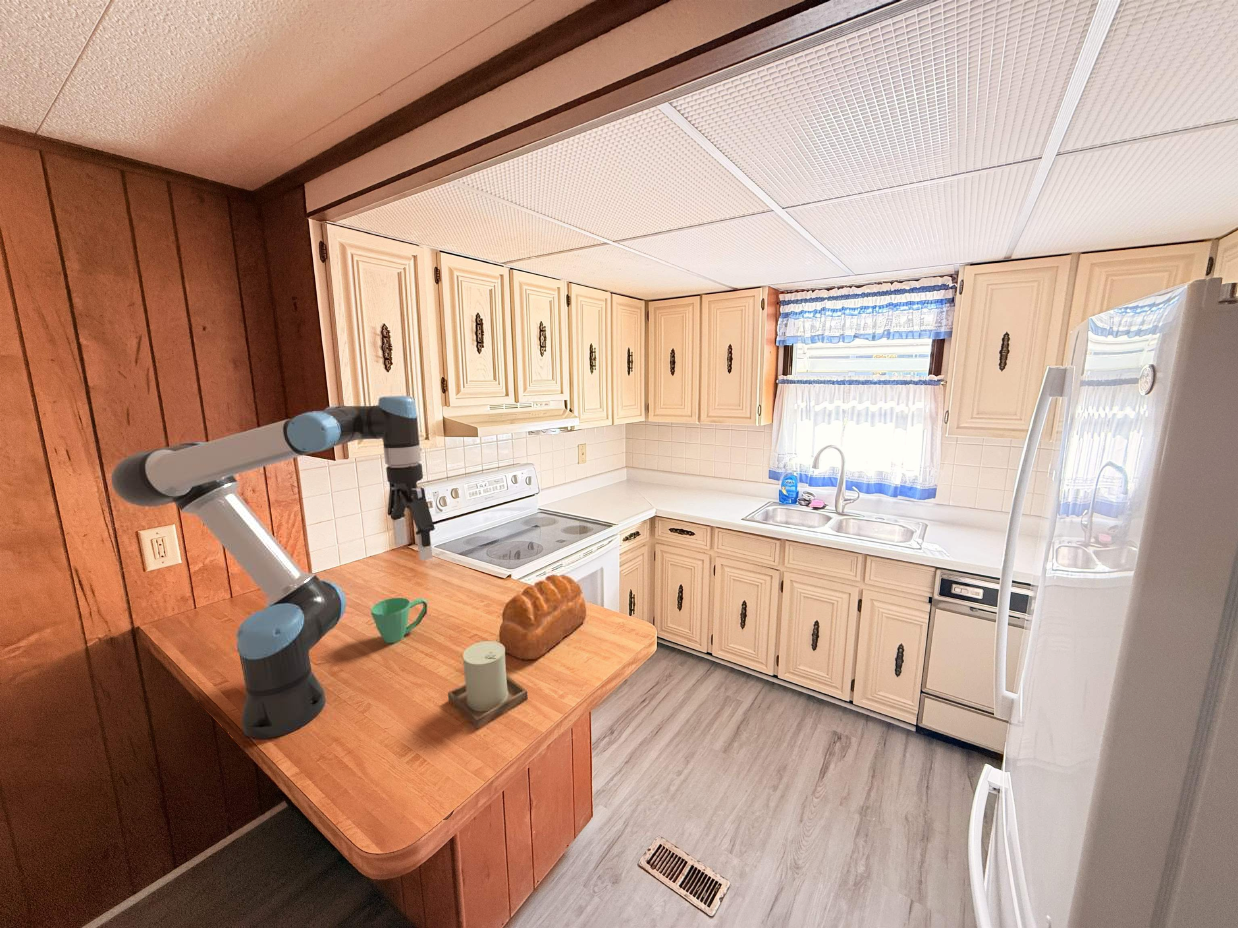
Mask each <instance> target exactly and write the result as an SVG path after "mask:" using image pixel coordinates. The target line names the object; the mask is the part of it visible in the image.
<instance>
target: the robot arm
mask: <svg viewBox="0 0 1238 928" xmlns="http://www.w3.org/2000/svg"><path fill="white" fill-rule="evenodd" d="M416 407H417V406H416V402H415V399H414V398H413V397H412V396H410V395H396V396H395V395H391V396H389V395H387V396H386V395H385V396H380V397H378V404H376V405H336V406H328V407H326V408H325V409H324V410H317V411H316V410H313V411H307V412H303V413H301V414H299V415H298V414H297V416H294V417H292V418H288V419H284V420H280V421H278V422H274V423H270V424H267V425H263V426H260V427H256V428H253V429H249V430H246V431H241V432H239V433H234V434H231V435H228V436H224V437H221V438H217V439H214V440H210V441H206V442H205V441H200V442H199V441H198V442H183V443H179V444H177V445H171V446H165V447H160V448H156V449H150V450H149V449H148V450H144V451H139V452H135V453H133V454H131V455H128V456H126V457H125V458H123V459H122V460H120V461H119V462H118V463H117V464H116V465H115V467H114V469H113V470H112V473H111V476H110V477H111V480H110V481H111V483H110V484H111V486H112V489H113V490H114V492H115V493H116V494H117V495H118V497H119V498H121V499H122V500H124V501H125V502H127V503H130V504H131V505H135V506H139V507H147V508H148V507H153V508H154V507H160V506H164V505H168V504H171V503H174V504H175V506H176V507H178V509H179V510H180V511H181V512H182V513H184V514H191V515H195V516H196V517H197V518H199V520H200V521H201V522H202V523H203V524H204V526H206V528H207V530H209V531H210V533H212V534H213V536H214V537H215V538H216V539H217V541H218V542H219V543H220V544H221V546H223V548H224V549H225V550H226V551H227V552H228V553H229V554H230V555H231V556H232V557H233V559H234V560H235V562H237V564H238V565H239V566H240V567H241V568H242V569H243V570H244V572H245V573H246V574H247V575H248V576H249V577H250V579H252V581H253V582H254V583H255V584H256V586H257V587H258V588H259V589H260V590H261V591H262V592H263V594H264V595H266V598H267V599H266V604H265V608H264V609H262V610H258V611H255V612H254V613H252V614H250V615H249V616H248V617H247V618H244V619H245V620H244V621H242V622H241V624H240V625H239V627H238V629H237V632H236V640H237V643H236V648H237V649H236V650H237V652H238V655H239V659H240V664H241V671H242V675H243V679H244V685H245V689H246V696H245V701H244V704H243V705H244V706H243V710H242V714H241V719H240V722H241V727H242V732H243V734H244V735H245V736H246V737H248V738H251V739H256V740H264V739H266V740H267V739H272V738H276V737H279V736H284V735H286V734H289V733H292V732H294V731H296V730H298V729H300V728H302V727H303V726H305V725H307V724H308V723H310V722H312V721H313V719H315V718H316V717H317V716H318V715H319V714H320V713H321V712H322V711H323V709H324V707H325V705H326V694H325V689H324V688H323V686H322V685H321V683H320V682H319V680H318V678H317V677H316V676H315V674H314V673H313V671H312V666H311V665H312V664H311V658H310V650H312V649H313V647H314V646H315V645H317V644H318V643H319V641H321V640H322V639H323V638H324V637H325V636H326V635H327V634H328V633H329V632H330V631H331V630H333V629H334V628H335V627H336V626H337V624H338V623H339V622H340V620H342V618H343V616H344V614H345V612H346V607H347V599H346V595H345V593H344V591H343V590H342V588H341V587H340V586H339V585H338V584H336V583H335V582H333V581H328V580H324V579H322V580H320V578H319V577H318V576H317V575H316V574H315V573H311V572H305V571H303V569H301V567H300V566H299V565H298V563H296V562H295V560H294V559H293V558H292V557H291V555H290V554H289V553H288V552H287V550H286V549H285V548H284V547H283V546H282V544H280V542H279V541H278V540H277V538H276V537H275V536H274V535H273V534H272V533H271V532H270V530H269V529H268V528H267V527H266V525H265V524H264V523H263V522H262V520H260V518H259V517H258V516H257V515H256V514H255V512H254V511H253V510H252V508H251V507H249V505H248V503H246V502H245V500H244V499H243V498H242V497H241V496H240V494H238V490H239V486H240V482H239V481H238V480H237V479H236V478H235V476H236V475H240V474H242V473H246V472H249V471H252V470H257V469H260V468H263V467H267V466H270V465H273V464H277V463H281V462H284V461H288V460H291V459H294V458H295V459H296V458H298V457H301V456H305V455H310V454H313V453H319V452H324V451H326V450H329V449H331V448H334V447H337V446H340V445H346V444H348V443H352V442H354V441H358V440H359V441H360V440H361V441H362V440H382V443H383V455H384V463H385V464H386V465H387V466H386V468H385V470H386V478H387V479H386V480H387V482H388V483H389V493H388V494H389V495H388V502H387V503H388V505H387V515H388V516H390V518H391V520H392V529H393V537H394V546H395V547H399V546H404V545H408V543H409V542H408V536H407V535H408V534H407V526H406V516H407V515H406V514H405V511H406V509H408V510H409V512H410V515H411V517H412V519H413V522H414V525H415V527H416V529H417V531H416V532H415V535H416V540H417V549H418V561H419V562H422V561H427V560H431V559H433V552H432V551H433V550H432V540H431V532H432V531H435V529H436V528H435V524H434V521H433V518H432V514H431V512H430V508H429V505H428V501H427V497H426V491H425V488H424V487H420V488H418V484H417V482H419V481H422V480H423V478H424V474H423V473H424V472H423V464H421V463H420V462H421V460H422V457H421V456H422V455H421V452H422V447H420V446H421V445H420V436H419V424H418V423H419V422H418V421H419V420H418V417H419V416H418V415H419V414H418V413H417V408H416Z"/></svg>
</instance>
